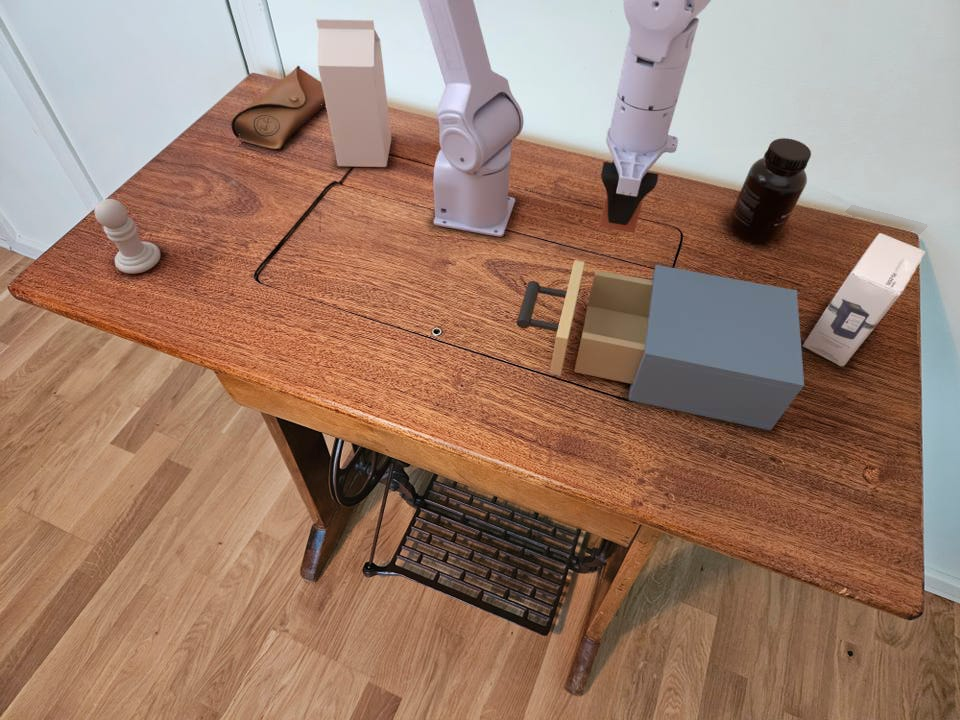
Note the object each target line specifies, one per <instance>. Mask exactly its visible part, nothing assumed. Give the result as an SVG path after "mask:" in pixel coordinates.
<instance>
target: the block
mask: <svg viewBox="0 0 960 720" xmlns="http://www.w3.org/2000/svg"><path fill="white" fill-rule="evenodd" d="M643 200H644V198H643V199H642V200H641V202H640V203H639V205H638V207H637V208H636V210H635V212H634V214H633V216H632V218H631V219H630V221H629V223H628V224H627V225H621V224H615V223H609V221H608V199H607V192H606V191H605V195H604V199H603V205H602V209H601V214H600V219H599V224H598V227H599V228H602V229H608V230H614V231H620V232H626V233H633V234H635V232H636V228H637V224H638V221H639V217H640V213H641V211H642V206H643Z"/></svg>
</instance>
